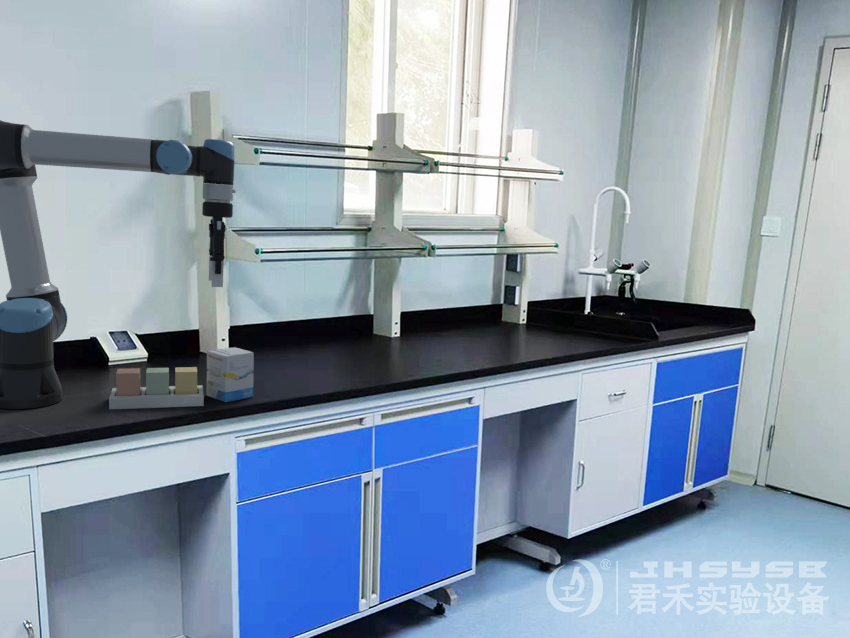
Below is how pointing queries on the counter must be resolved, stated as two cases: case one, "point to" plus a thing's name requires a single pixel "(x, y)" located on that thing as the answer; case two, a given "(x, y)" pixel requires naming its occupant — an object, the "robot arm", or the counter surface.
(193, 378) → the ochre button
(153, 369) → the sage button
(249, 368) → the ink box
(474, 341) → the counter surface
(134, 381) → the terracotta button
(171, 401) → the board
